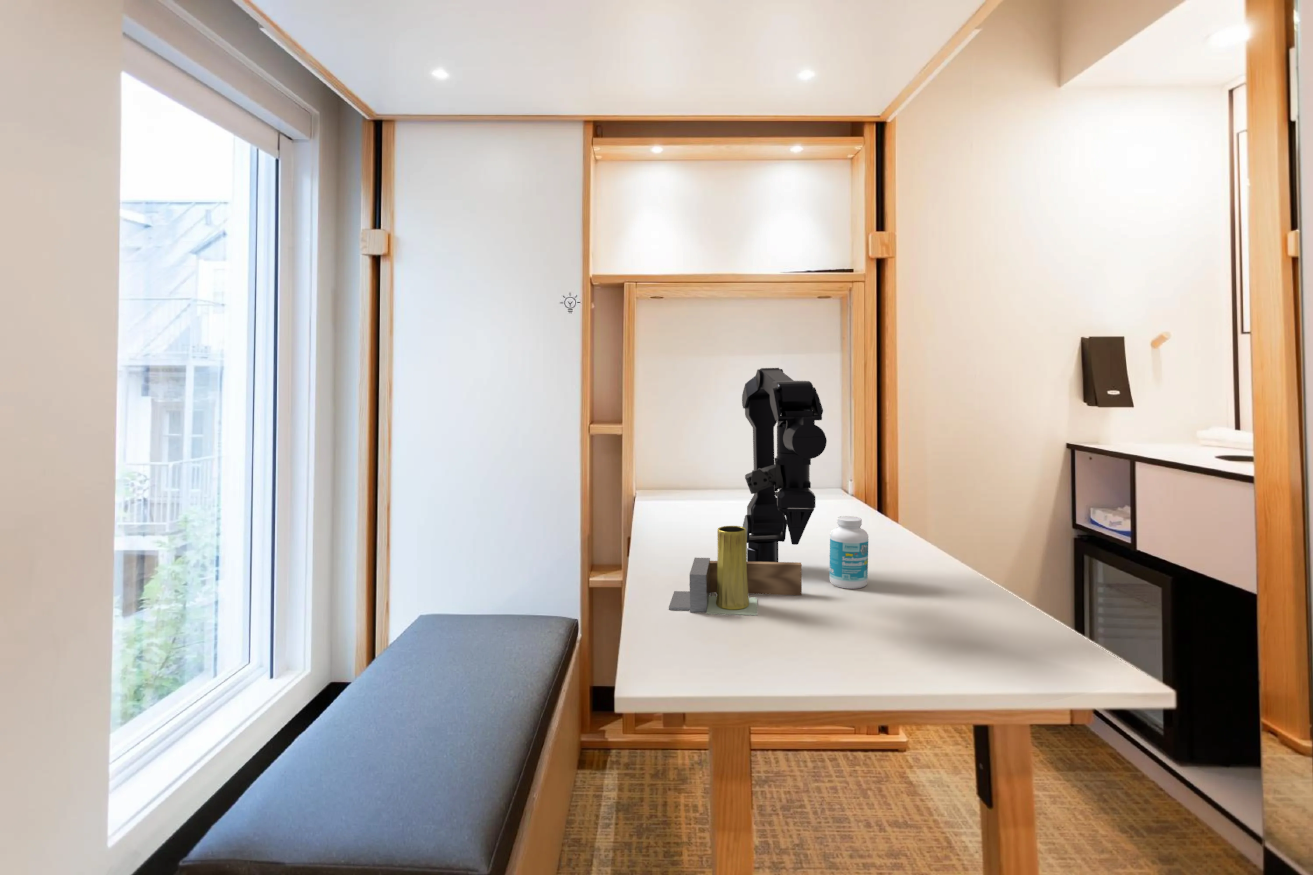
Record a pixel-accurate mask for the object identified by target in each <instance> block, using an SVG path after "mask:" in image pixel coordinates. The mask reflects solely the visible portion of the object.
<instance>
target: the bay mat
mask: <svg viewBox="0 0 1313 875" xmlns="http://www.w3.org/2000/svg"><path fill="white" fill-rule="evenodd" d="M748 597H749V606H748V607H746V608H744V609H740V610H727V609H723V608H720V607H718V606H717V605H716V599H717V595H716V596H715V595H710V597H709V602H708V608H707V612H706V613H705V614H706V615H724V616H725V615H728V616H729V615H731V616H732V615H734V616H758V597H757V596H756V597H755V596H753V597H751V596H748Z"/></svg>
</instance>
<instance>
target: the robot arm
mask: <svg viewBox="0 0 1313 875" xmlns="http://www.w3.org/2000/svg"><path fill="white" fill-rule="evenodd" d="M817 392H818V391H817V389H816V387H814V385H813V383H812V381H809V380H794V379H792V378H791V377H790V376H789V375H788V374H785V372H784V369H783V368H779V367H761V368H760V369H759V368H758V369H757V370H756V373H755V376H753V377H752V378H750V379H749V380H748V381H747V382H746V383H745V384H744V387H743V390H742V394H741V405H742V409H744V416H745V418H746V419H747V421H748V423H749V424H750V426H751V427H752V443H753V444H752V445H753V446H752V447H753V448H752V450H753V452H752V453H753V457H752V458H753V470H751V472H749V473H747V474H744V480H745V481H746V484H747V486H748V489H749V492H750V494H751V495H752V494H753V496H752V497H751V499H750V501H749V503H748V504H747V505H746V506H747V507H746V514H745V515H744V518H743V523H742V527H744V528H746V531H747V562H779V542H782V543H783V542H784V543H785V540H786V536H787V535H786V534H787V529H788V532H789V536H790V541H791V542H790V543H791V545H792V546H793V545H795V546H796V545H799V543H800V541H801V538H802V536H803V534H804V532H805V530H806V527H807V525H808V522H809V520H810V518H811V516H812V514H813V513H814V510H815V508H816V495H815V493H814V492H813V491H812V490H811V489H812V488H811V485H812V483H811V481H810V475H811V474H810V471H811V470H810V466H811V464H812V463H811V461H812V460H811V459H816V458H817V457H820V455H821V454H822V453H823V452H824V451H825V449H826V446H827V442H828V441H827V436H826V433H825V432H824V430H823V429H822V428H821V427H820V426H818V425H816V424H815V422H816V421H822V420H823V413H824V409H823V405H822V403H821V399H820V396H819V394H818V393H817ZM776 425H777V426H776ZM775 426H776V457H775V434H774V433H775Z"/></svg>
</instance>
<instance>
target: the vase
mask: <svg viewBox="0 0 1313 875" xmlns="http://www.w3.org/2000/svg"><path fill="white" fill-rule="evenodd" d="M747 548H748V543H747V531H746V528H744V527H743V526H740V525H724V526H721V527H717V560H716V561H717V593H716V596H717V599H716V605H717V606H718V607H720V608H723V609H727V610H740V609H744V608H746V607H748V606H749V597H750V596H749V594H748V580H747Z"/></svg>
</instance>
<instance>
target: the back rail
mask: <svg viewBox="0 0 1313 875" xmlns="http://www.w3.org/2000/svg"><path fill="white" fill-rule="evenodd" d="M802 567H803V565H802V562H796V561H795V562H793V561H792V562H789V561H787V562H786V561H778V562H747V580H748V595H749V594H750V595H775V596H776V595H777V596H778V595H779V596H780V595H782V596H802V595H803V592H802V590H803V589H802V586H803V584H802V581H803V578H802V573H803V572H802V570H803V569H802ZM710 594H717V560H710Z"/></svg>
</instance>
